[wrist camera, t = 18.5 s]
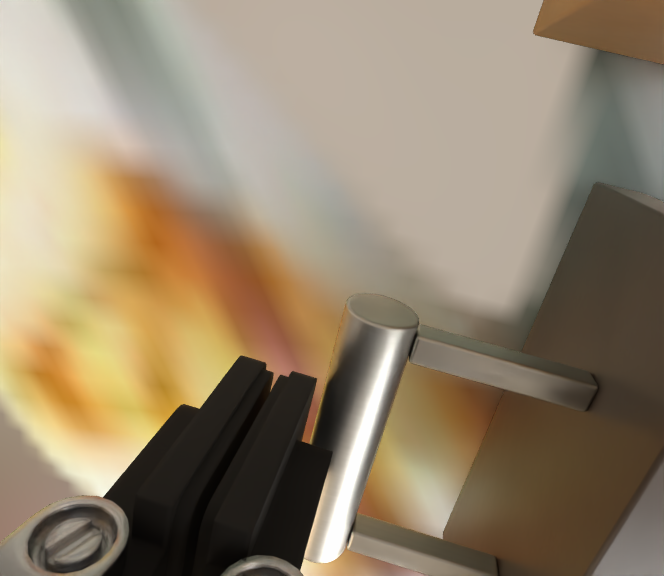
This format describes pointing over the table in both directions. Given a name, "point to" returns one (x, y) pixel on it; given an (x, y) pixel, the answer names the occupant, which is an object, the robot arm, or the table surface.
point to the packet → (606, 25)
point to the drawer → (523, 418)
